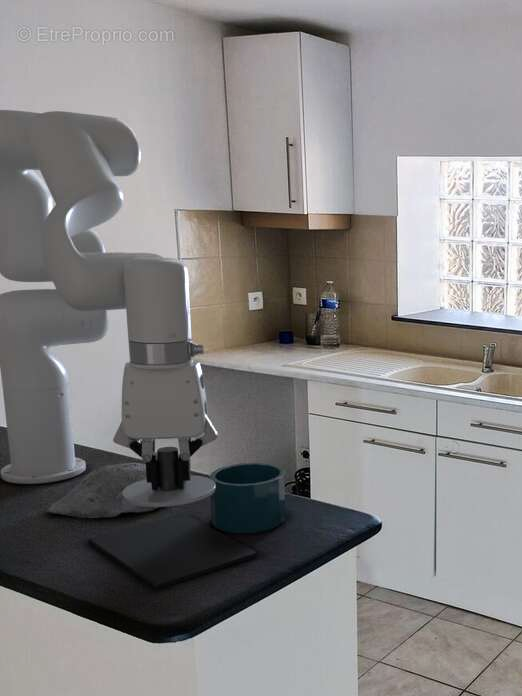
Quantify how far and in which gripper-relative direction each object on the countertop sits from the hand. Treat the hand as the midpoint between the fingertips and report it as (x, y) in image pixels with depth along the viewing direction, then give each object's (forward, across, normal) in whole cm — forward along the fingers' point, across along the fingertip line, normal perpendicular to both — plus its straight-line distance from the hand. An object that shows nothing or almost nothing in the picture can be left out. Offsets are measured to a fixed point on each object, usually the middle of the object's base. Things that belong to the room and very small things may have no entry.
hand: (169, 485), depth 108 cm
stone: (+9, +10, -21) cm, 25 cm away
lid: (+1, 0, 0) cm, 1 cm away
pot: (+9, -9, -10) cm, 17 cm away
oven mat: (+9, 0, 0) cm, 9 cm away
